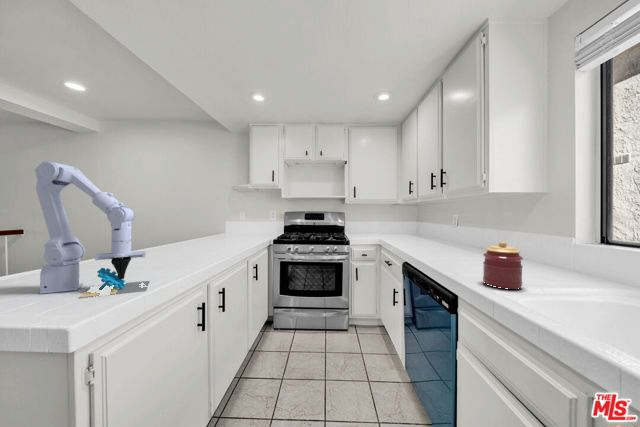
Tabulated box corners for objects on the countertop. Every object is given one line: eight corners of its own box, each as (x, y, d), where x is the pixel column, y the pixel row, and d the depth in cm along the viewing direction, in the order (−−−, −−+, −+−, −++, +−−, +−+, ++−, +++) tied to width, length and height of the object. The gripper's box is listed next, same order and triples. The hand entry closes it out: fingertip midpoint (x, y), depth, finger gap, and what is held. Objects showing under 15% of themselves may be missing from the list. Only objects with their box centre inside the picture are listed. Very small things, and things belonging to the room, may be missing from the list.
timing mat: (78, 300, 84) (78, 298, 84) (91, 287, 97) (91, 286, 97) (146, 292, 93) (146, 290, 93) (149, 282, 106) (149, 280, 106)
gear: (115, 288, 89) (94, 267, 89) (100, 301, 88) (79, 280, 88) (133, 284, 100) (114, 265, 100) (120, 296, 99) (101, 276, 99)
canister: (479, 285, 105) (480, 241, 105) (486, 279, 115) (487, 238, 115) (520, 292, 97) (521, 244, 96) (524, 285, 106) (525, 241, 106)
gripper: (92, 242, 88) (92, 283, 88) (144, 241, 95) (144, 279, 95) (97, 240, 94) (97, 278, 95) (146, 239, 101) (146, 274, 101)
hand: (121, 278), depth 95 cm, fingers closed
